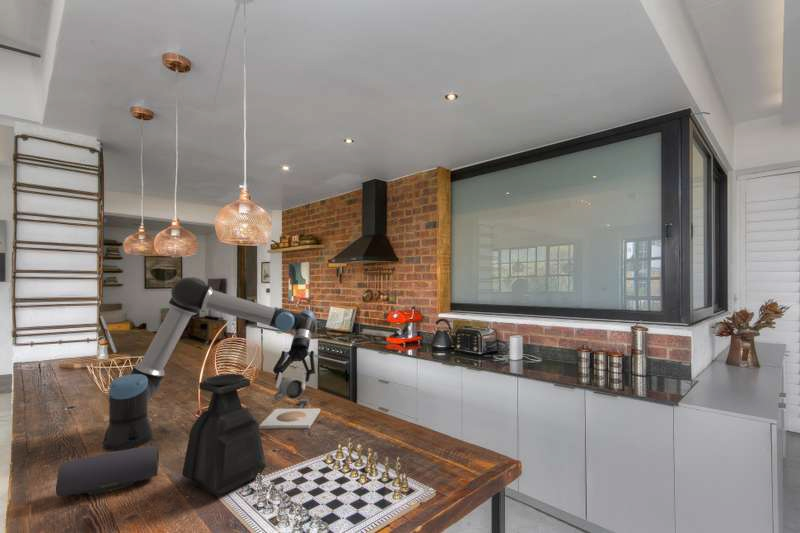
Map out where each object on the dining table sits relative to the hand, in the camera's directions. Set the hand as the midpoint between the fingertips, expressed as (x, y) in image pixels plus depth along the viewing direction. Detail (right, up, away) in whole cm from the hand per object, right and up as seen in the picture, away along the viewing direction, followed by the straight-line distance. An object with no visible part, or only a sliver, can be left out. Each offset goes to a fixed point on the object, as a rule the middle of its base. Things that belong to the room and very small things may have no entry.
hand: (289, 388), depth 156 cm
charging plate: (-2, -16, +15) cm, 23 cm away
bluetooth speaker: (-39, -15, -44) cm, 60 cm away
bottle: (-8, -15, -40) cm, 44 cm away
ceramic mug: (-1, -4, +1) cm, 5 cm away
